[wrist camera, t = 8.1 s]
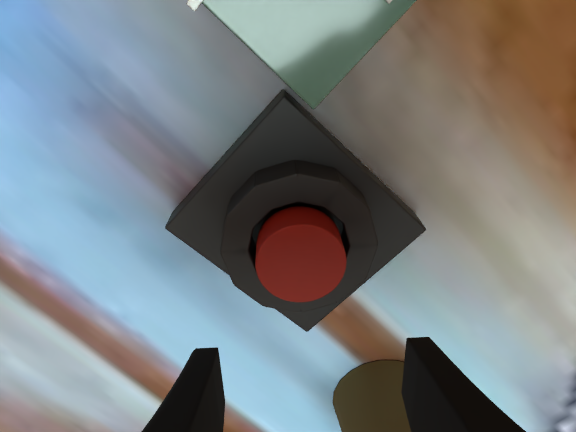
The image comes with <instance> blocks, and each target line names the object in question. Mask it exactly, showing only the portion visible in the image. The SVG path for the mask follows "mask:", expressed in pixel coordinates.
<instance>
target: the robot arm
mask: <svg viewBox="0 0 576 432" xmlns="http://www.w3.org/2000/svg"><path fill="white" fill-rule="evenodd" d="M401 393H402V397H403V401H404V406H405V410H406V414H407V418H408V422H409V426H410V429H411V432H526V431H525V430H523V429H522V428H521V427H520V426H519V425H517V424H516V423H515V422H514V421H513V420H512V419H511V418H509V417H508V416H507V415H506V414H505V413H504V412H503V411H502V410H501V409H499V408H498V407H497V406H496V405H495V404H494V403H493V402H492V401H491V400H490V399H489V398H488V397H487V396H486V395H485V394H484V393H483V392H482V391H480V390H479V389H478V388H477V387H476V386H475V385H474V384H473V383H472V382H471V381H470V380H469V379H468V378H467V377H466V376H465V375H464V374H463V373H462V372H461V370H460V369H459V368H458V367H457V366H456V365H455V364H454V363H453V362H452V361H451V360H450V359H449V358H448V357H447V356H446V355H445V354H444V353H443V351H442V350H441V349H440V348H439V347H438V346H437V345H436V344H435V343H434V342H433V341H432V340H431V339H430V338H429V337H419V338H407V341H406V351H405V361H404V371H403V381H402V391H401ZM224 411H225V397H224V389H223V382H222V374H221V367H220V359H219V351H218V348H199V349H195V350H194V351H193V352H192V354H191V356H190V358H189V360H188V361H187V363H186V365H185V367H184V368H183V370H182V372H181V374H180V375H179V377H178V379H177V380H176V382H175V384H174V385H173V387H172V388H171V390H170V392H169V393H168V395H167V396H166V398H165V399H164V401H163V402H162V404H161V405H160V407H159V408H158V410H157V411H156V413H155V414H154V416H153V417H152V418H151V420H150V421H149V422H148V424H147V425H146V426H145V428H144V429H143V431H142V432H223V426H224Z"/></svg>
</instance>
